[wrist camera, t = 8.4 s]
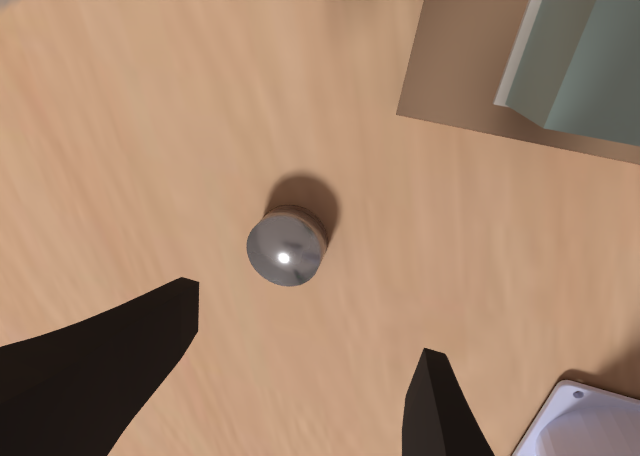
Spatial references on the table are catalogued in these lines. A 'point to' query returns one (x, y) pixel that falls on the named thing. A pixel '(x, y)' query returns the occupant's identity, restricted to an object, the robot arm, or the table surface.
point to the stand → (482, 74)
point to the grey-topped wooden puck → (287, 245)
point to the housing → (582, 70)
